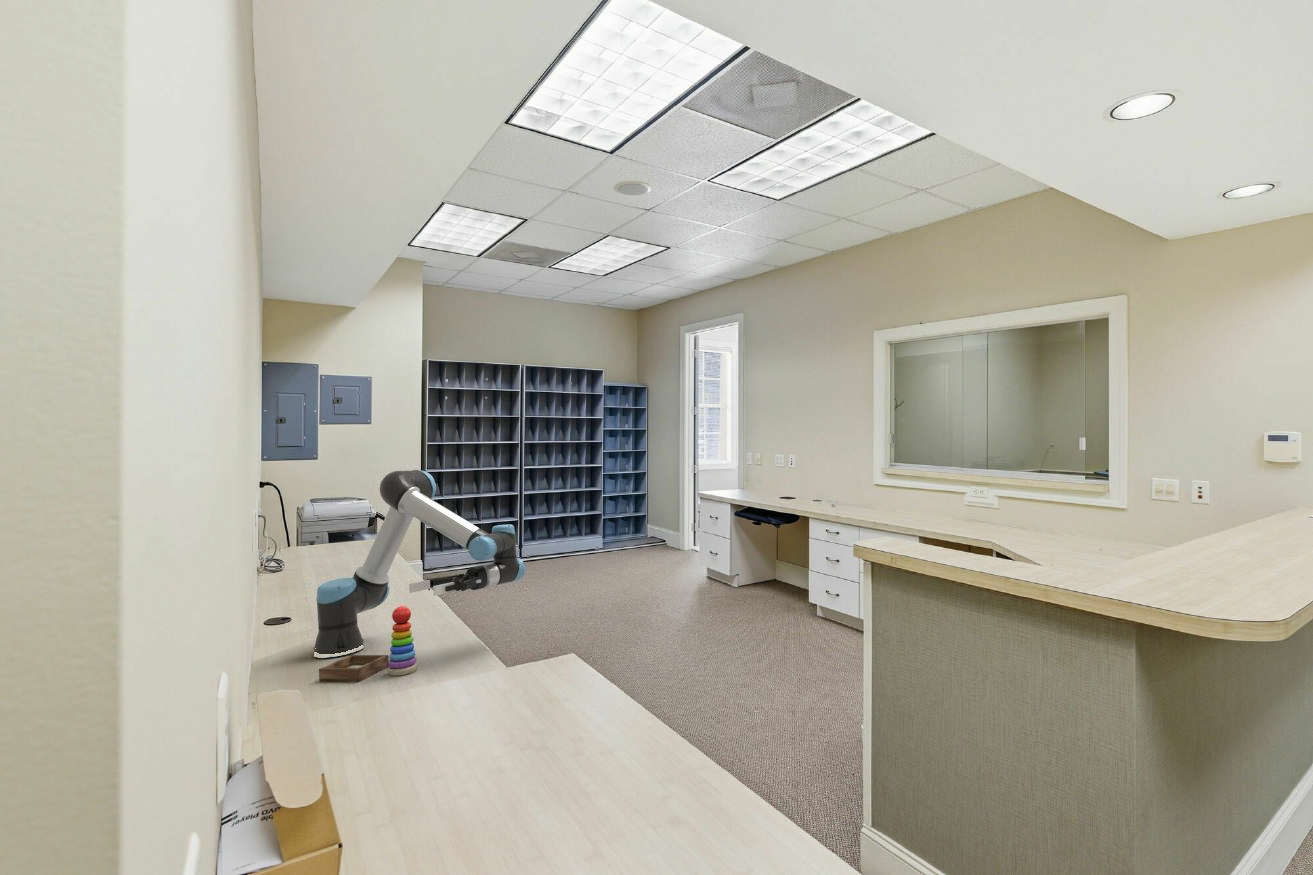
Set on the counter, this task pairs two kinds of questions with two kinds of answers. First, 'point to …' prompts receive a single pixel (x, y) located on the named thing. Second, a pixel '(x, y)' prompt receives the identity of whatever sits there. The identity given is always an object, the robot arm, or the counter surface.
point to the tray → (353, 668)
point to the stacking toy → (402, 644)
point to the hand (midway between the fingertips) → (421, 589)
